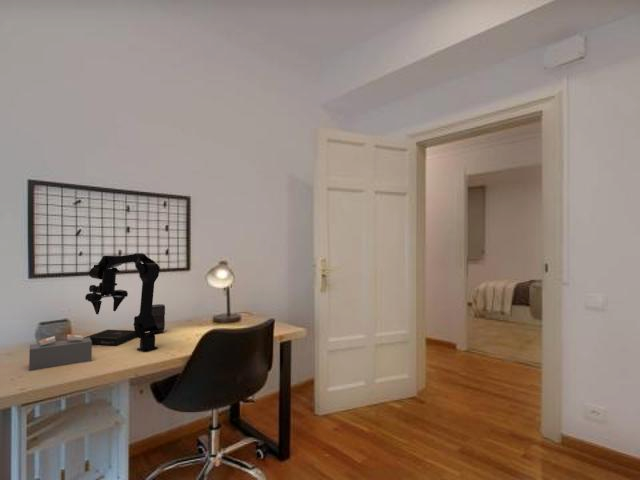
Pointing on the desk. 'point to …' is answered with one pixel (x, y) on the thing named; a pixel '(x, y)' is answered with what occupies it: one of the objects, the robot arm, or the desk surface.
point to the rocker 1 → (47, 340)
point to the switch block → (60, 353)
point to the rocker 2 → (74, 337)
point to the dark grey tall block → (159, 316)
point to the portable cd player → (112, 337)
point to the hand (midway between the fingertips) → (105, 312)
